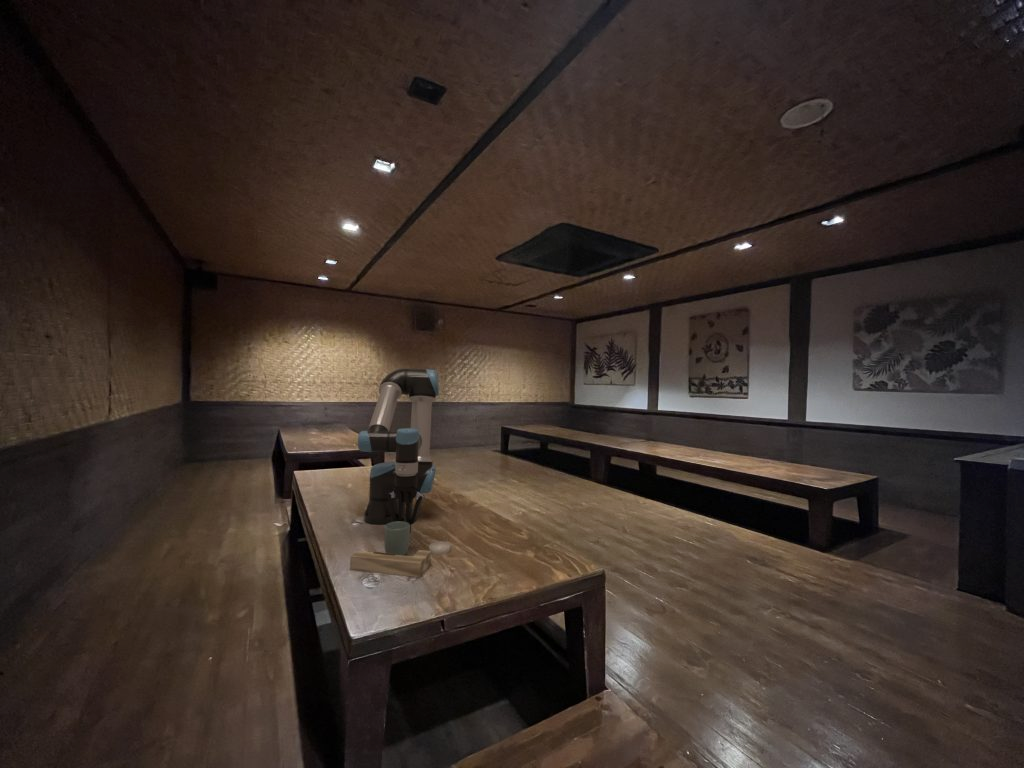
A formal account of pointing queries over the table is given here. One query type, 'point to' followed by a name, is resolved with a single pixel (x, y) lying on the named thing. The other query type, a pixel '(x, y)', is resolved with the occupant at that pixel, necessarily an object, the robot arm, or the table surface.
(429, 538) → the table surface
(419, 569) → the wooden block
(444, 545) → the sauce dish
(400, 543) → the cup
